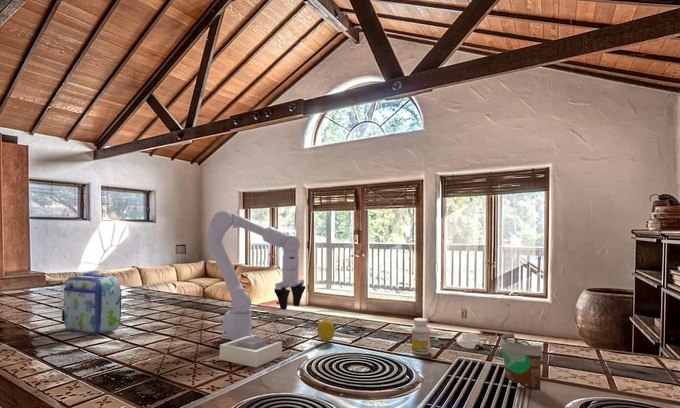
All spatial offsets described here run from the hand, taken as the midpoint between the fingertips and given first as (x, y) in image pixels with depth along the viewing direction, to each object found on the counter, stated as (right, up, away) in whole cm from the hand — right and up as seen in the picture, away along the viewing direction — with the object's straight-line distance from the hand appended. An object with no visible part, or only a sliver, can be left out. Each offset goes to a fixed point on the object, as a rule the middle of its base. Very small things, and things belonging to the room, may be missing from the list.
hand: (290, 307), depth 135 cm
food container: (+60, -6, -45) cm, 75 cm away
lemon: (+13, -9, -12) cm, 20 cm away
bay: (-8, -7, -26) cm, 28 cm away
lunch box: (-75, -10, +5) cm, 76 cm away
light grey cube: (-8, -7, -26) cm, 28 cm away
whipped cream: (+59, -9, -15) cm, 62 cm away
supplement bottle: (+42, -8, -21) cm, 48 cm away
